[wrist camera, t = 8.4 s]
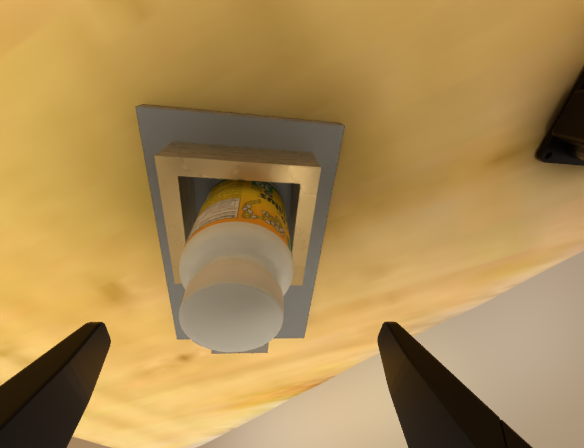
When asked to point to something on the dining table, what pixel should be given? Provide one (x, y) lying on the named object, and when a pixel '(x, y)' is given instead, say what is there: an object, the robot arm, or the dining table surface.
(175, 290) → the fitting board
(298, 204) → the square wooden frame
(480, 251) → the dining table surface
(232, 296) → the supplement bottle
